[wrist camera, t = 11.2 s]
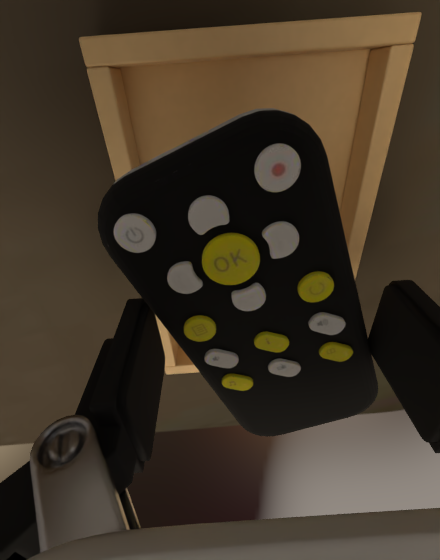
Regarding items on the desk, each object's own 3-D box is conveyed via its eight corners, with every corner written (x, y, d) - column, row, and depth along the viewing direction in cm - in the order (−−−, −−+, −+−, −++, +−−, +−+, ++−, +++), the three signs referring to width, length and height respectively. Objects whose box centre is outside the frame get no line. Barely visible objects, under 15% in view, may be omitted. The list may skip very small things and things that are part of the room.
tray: (97, 43, 11) (77, 36, 9) (389, 21, 11) (424, 11, 9) (169, 350, 21) (165, 375, 19) (324, 339, 21) (335, 363, 19)
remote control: (247, 410, 15) (252, 451, 13) (89, 188, 8) (60, 213, 7) (368, 376, 14) (389, 416, 12) (295, 82, 7) (321, 82, 6)
